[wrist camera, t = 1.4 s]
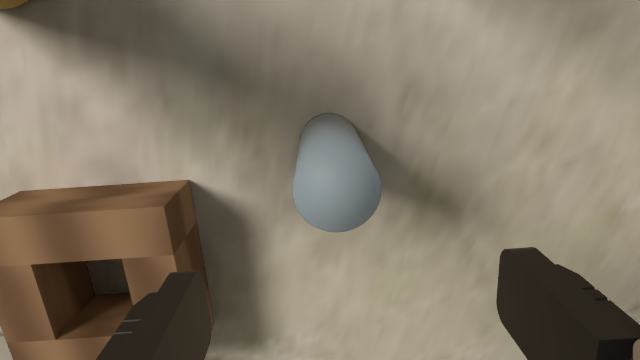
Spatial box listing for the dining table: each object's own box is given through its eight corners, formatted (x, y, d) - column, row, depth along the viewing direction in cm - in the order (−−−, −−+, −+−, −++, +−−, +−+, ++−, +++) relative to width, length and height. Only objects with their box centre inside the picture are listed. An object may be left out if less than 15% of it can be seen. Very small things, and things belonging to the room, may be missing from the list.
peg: (356, 111, 27) (380, 145, 17) (359, 168, 28) (382, 229, 19) (297, 115, 27) (288, 151, 17) (302, 172, 28) (296, 234, 19)
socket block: (189, 180, 28) (163, 206, 23) (214, 322, 32) (196, 370, 27) (19, 191, 28) (-40, 220, 23) (64, 332, 32) (21, 381, 27)
